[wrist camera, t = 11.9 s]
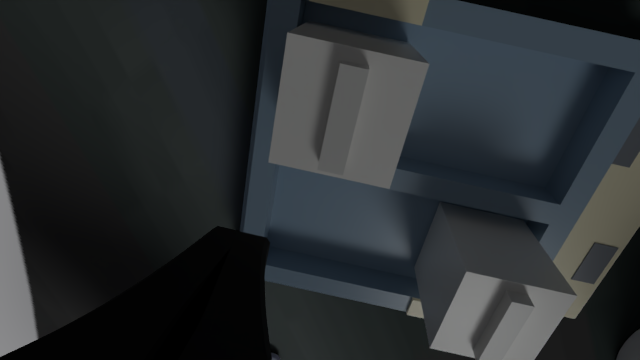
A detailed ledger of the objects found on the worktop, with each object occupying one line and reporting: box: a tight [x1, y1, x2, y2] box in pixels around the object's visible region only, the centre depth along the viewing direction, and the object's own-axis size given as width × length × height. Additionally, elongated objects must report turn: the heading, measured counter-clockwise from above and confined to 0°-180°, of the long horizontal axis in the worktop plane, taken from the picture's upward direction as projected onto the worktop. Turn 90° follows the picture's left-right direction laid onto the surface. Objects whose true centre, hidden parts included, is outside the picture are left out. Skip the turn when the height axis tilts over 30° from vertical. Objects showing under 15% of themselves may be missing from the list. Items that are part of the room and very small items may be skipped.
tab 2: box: [414, 202, 577, 360], centre depth 16 cm, size 4×4×6 cm
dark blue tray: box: [240, 0, 640, 319], centre depth 17 cm, size 14×19×3 cm
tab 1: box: [268, 21, 429, 189], centre depth 13 cm, size 4×4×6 cm
